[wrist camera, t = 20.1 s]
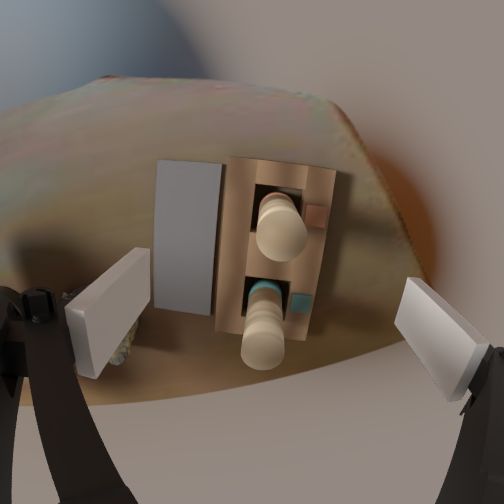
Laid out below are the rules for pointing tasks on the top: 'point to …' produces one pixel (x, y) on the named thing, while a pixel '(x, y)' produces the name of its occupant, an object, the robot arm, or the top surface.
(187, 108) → the top surface
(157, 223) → the mat
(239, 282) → the socket board
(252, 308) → the peg
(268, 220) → the peg
